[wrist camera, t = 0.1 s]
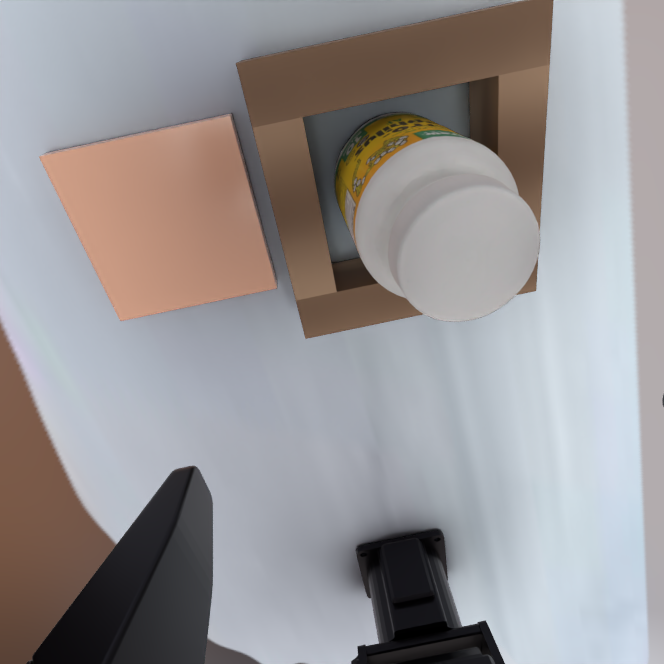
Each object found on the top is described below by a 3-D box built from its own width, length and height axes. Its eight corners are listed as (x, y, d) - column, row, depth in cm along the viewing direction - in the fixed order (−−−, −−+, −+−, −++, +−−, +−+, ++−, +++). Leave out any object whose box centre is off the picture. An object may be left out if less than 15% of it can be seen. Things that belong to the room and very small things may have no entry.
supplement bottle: (345, 245, 22) (385, 361, 14) (320, 127, 20) (352, 187, 11) (456, 219, 22) (561, 320, 14) (447, 95, 19) (571, 133, 11)
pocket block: (508, 264, 24) (535, 290, 21) (302, 307, 24) (305, 338, 21) (514, 1, 18) (553, -6, 15) (241, 60, 18) (235, 63, 15)
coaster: (276, 281, 23) (277, 288, 22) (124, 312, 23) (120, 321, 22) (231, 113, 19) (229, 115, 18) (47, 152, 19) (38, 156, 18)
